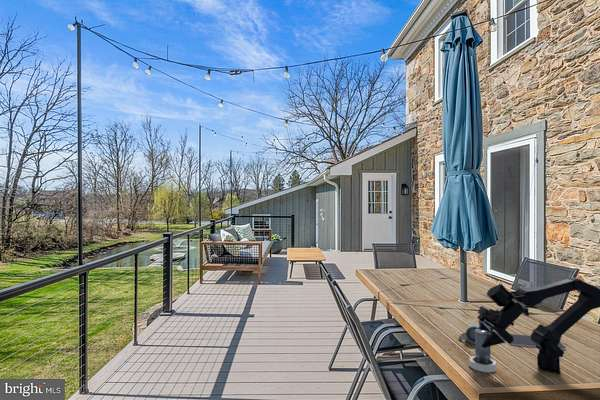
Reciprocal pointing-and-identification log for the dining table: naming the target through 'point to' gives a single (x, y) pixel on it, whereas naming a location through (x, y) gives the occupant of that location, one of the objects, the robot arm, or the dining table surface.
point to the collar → (482, 365)
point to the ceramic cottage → (524, 287)
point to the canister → (482, 353)
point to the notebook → (527, 341)
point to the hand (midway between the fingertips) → (478, 343)
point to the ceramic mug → (469, 333)
